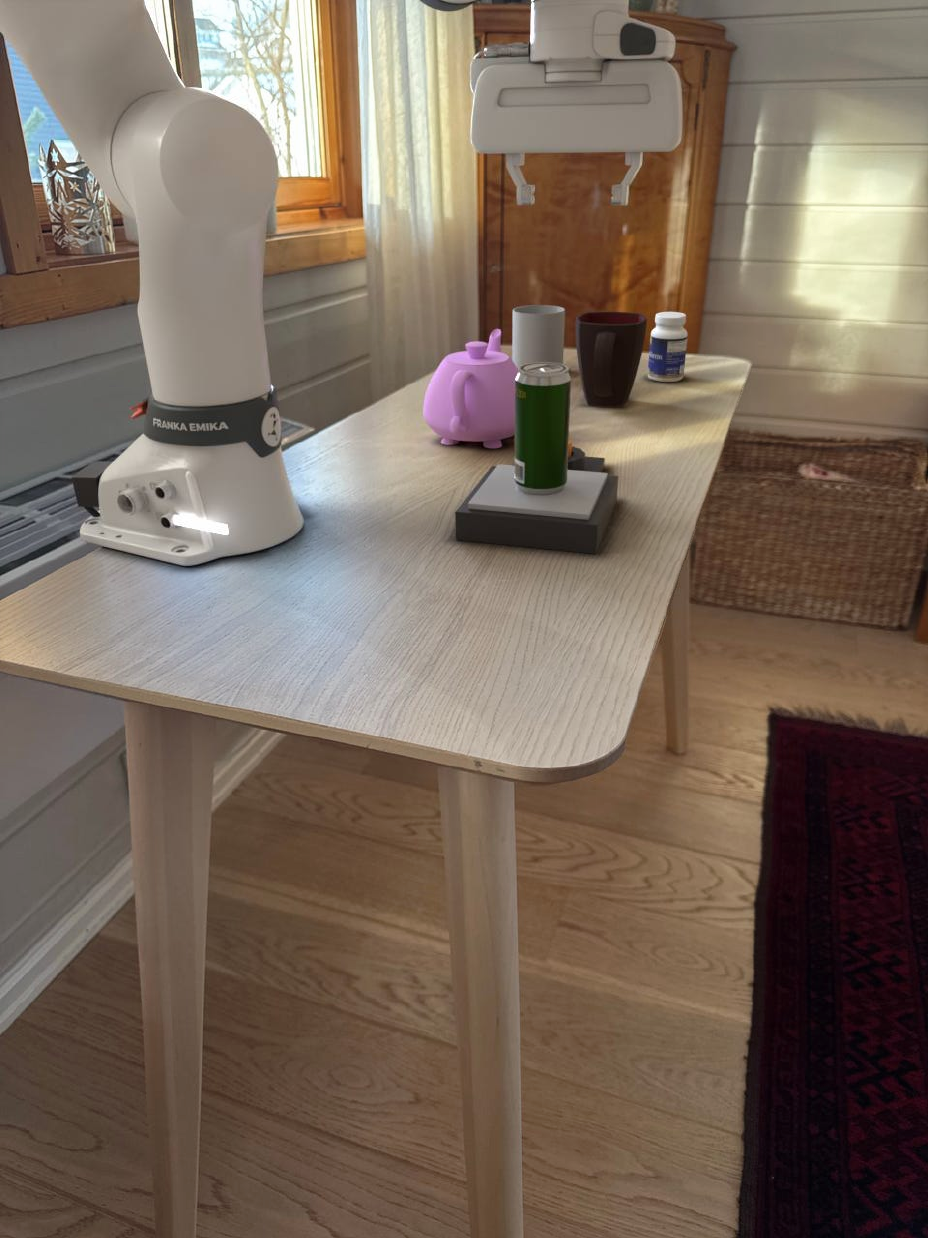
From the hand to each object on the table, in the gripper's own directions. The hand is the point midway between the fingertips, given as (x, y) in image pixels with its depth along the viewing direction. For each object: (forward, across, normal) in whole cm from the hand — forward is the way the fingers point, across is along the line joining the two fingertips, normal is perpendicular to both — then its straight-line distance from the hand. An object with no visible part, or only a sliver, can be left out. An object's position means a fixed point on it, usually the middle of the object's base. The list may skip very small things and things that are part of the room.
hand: (571, 204), depth 89 cm
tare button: (+26, -1, +1) cm, 26 cm away
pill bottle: (+29, +7, +51) cm, 59 cm away
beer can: (+26, 0, -12) cm, 28 cm away
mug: (+29, 0, +33) cm, 44 cm away
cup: (+29, -14, +51) cm, 60 cm away
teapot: (+29, -14, +15) cm, 36 cm away
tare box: (+29, -1, +1) cm, 29 cm away
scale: (+29, 0, -12) cm, 31 cm away
